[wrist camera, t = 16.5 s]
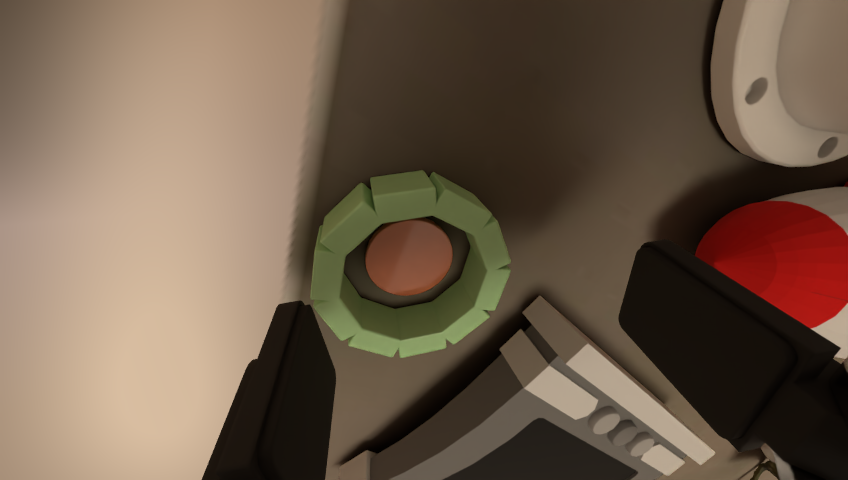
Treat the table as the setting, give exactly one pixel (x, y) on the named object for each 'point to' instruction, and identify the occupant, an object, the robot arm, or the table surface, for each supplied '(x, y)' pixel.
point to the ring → (416, 323)
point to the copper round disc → (408, 256)
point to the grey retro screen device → (542, 419)
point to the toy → (790, 256)
